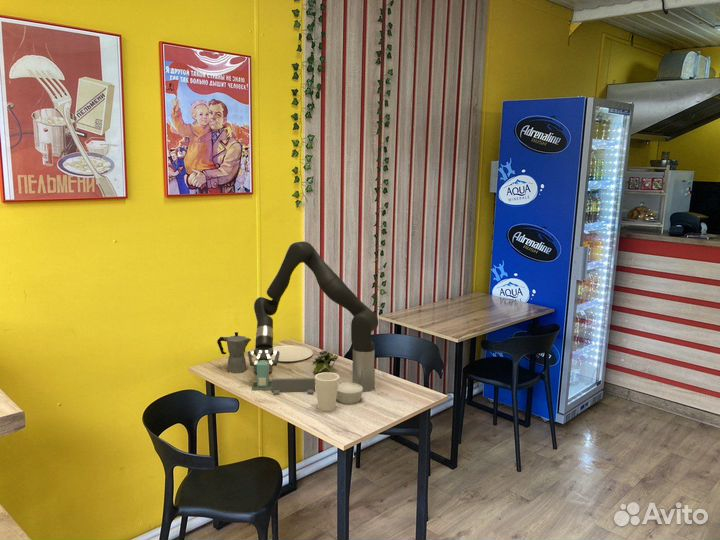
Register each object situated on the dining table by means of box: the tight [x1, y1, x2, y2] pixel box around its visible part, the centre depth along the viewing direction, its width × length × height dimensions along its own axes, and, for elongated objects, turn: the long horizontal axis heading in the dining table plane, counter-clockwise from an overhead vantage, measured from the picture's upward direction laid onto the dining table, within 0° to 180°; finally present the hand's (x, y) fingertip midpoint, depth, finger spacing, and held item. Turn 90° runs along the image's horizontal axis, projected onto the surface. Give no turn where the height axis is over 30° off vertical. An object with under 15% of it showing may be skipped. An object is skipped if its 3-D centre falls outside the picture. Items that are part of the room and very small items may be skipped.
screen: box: [271, 377, 316, 396], centre depth 233 cm, size 18×4×6 cm, turn 96°
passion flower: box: [312, 350, 339, 374], centre depth 259 cm, size 11×11×12 cm
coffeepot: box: [216, 331, 252, 374], centre depth 257 cm, size 15×9×18 cm, turn 92°
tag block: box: [256, 360, 269, 388], centre depth 238 cm, size 4×5×10 cm
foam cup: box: [314, 371, 340, 413], centre depth 218 cm, size 10×9×13 cm
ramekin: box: [336, 382, 363, 405], centre depth 228 cm, size 11×11×5 cm
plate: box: [270, 345, 314, 363], centre depth 281 cm, size 25×25×2 cm
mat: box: [251, 381, 272, 392], centre depth 239 cm, size 9×9×1 cm
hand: (262, 374), depth 237 cm, fingers open, 5 cm apart
